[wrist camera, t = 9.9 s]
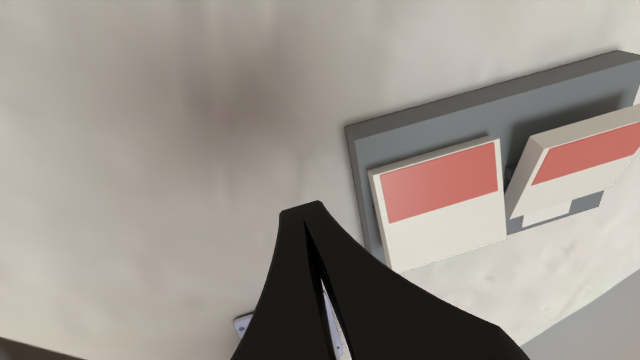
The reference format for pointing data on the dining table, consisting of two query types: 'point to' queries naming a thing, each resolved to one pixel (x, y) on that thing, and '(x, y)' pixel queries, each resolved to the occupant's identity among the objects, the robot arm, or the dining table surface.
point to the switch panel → (494, 128)
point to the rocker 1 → (440, 203)
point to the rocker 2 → (573, 161)
